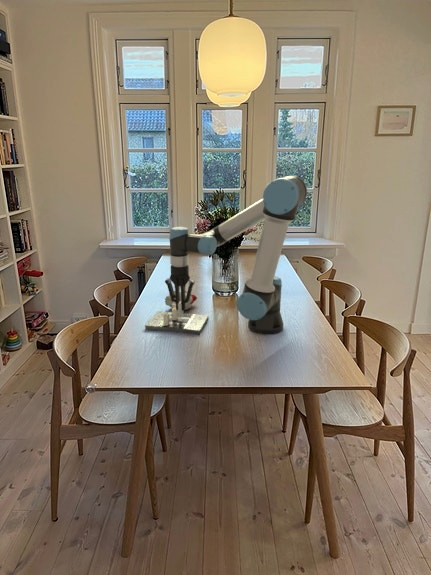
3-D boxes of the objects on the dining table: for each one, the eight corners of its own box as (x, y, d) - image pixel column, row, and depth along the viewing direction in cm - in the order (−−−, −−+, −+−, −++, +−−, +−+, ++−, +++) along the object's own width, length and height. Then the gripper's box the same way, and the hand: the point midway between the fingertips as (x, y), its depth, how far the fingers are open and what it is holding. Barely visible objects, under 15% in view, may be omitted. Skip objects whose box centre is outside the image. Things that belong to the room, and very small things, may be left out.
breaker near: (169, 323, 171) (169, 312, 169) (167, 325, 168) (167, 314, 167) (165, 322, 171) (165, 312, 169) (163, 325, 169) (163, 314, 167)
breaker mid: (177, 318, 176) (177, 307, 174) (176, 320, 174) (175, 309, 172) (174, 317, 176) (173, 307, 174) (172, 319, 174) (171, 309, 172)
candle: (163, 309, 191) (185, 303, 202) (180, 314, 184) (201, 309, 196) (164, 290, 189) (186, 286, 200) (181, 295, 182) (203, 291, 194)
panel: (208, 319, 180) (208, 315, 180) (199, 334, 166) (199, 330, 165) (158, 315, 185) (157, 310, 184) (145, 329, 170) (145, 324, 170)
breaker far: (177, 312, 182) (177, 302, 180) (176, 314, 179) (175, 304, 178) (174, 312, 182) (173, 302, 180) (172, 314, 180) (172, 304, 178)
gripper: (197, 263, 168) (197, 314, 176) (167, 261, 171) (169, 312, 179) (192, 268, 161) (192, 321, 169) (161, 265, 164) (163, 318, 172)
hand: (180, 316), depth 174 cm, fingers closed
